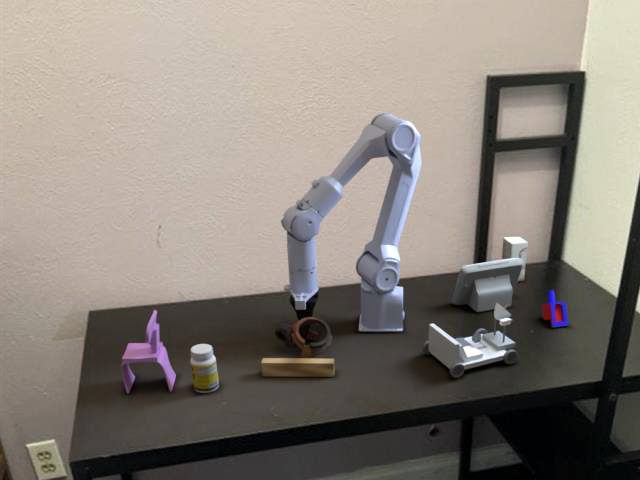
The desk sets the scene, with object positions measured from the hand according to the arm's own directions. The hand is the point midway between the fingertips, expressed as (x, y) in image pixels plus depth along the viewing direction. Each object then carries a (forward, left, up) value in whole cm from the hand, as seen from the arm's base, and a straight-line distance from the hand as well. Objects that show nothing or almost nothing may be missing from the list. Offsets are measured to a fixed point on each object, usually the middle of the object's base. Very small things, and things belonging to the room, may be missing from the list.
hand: (305, 326), depth 164 cm
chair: (+28, +20, -3) cm, 34 cm away
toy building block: (-54, -9, -3) cm, 55 cm away
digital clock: (-40, -19, -3) cm, 44 cm away
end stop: (0, +15, -3) cm, 15 cm away
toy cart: (-35, +8, -3) cm, 36 cm away
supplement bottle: (+17, +21, -3) cm, 27 cm away
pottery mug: (0, +5, -3) cm, 6 cm away
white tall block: (-48, -34, -3) cm, 59 cm away
